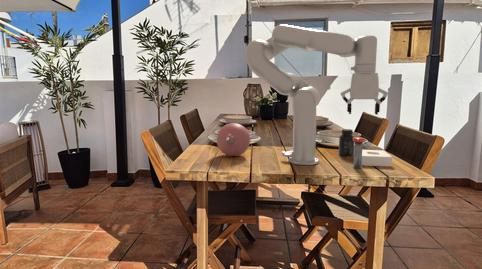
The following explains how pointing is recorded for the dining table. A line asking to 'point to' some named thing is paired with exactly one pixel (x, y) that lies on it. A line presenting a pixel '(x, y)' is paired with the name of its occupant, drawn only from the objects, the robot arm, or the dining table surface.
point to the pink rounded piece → (233, 139)
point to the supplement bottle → (346, 143)
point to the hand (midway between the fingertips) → (362, 114)
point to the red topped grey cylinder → (358, 152)
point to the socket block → (376, 158)
